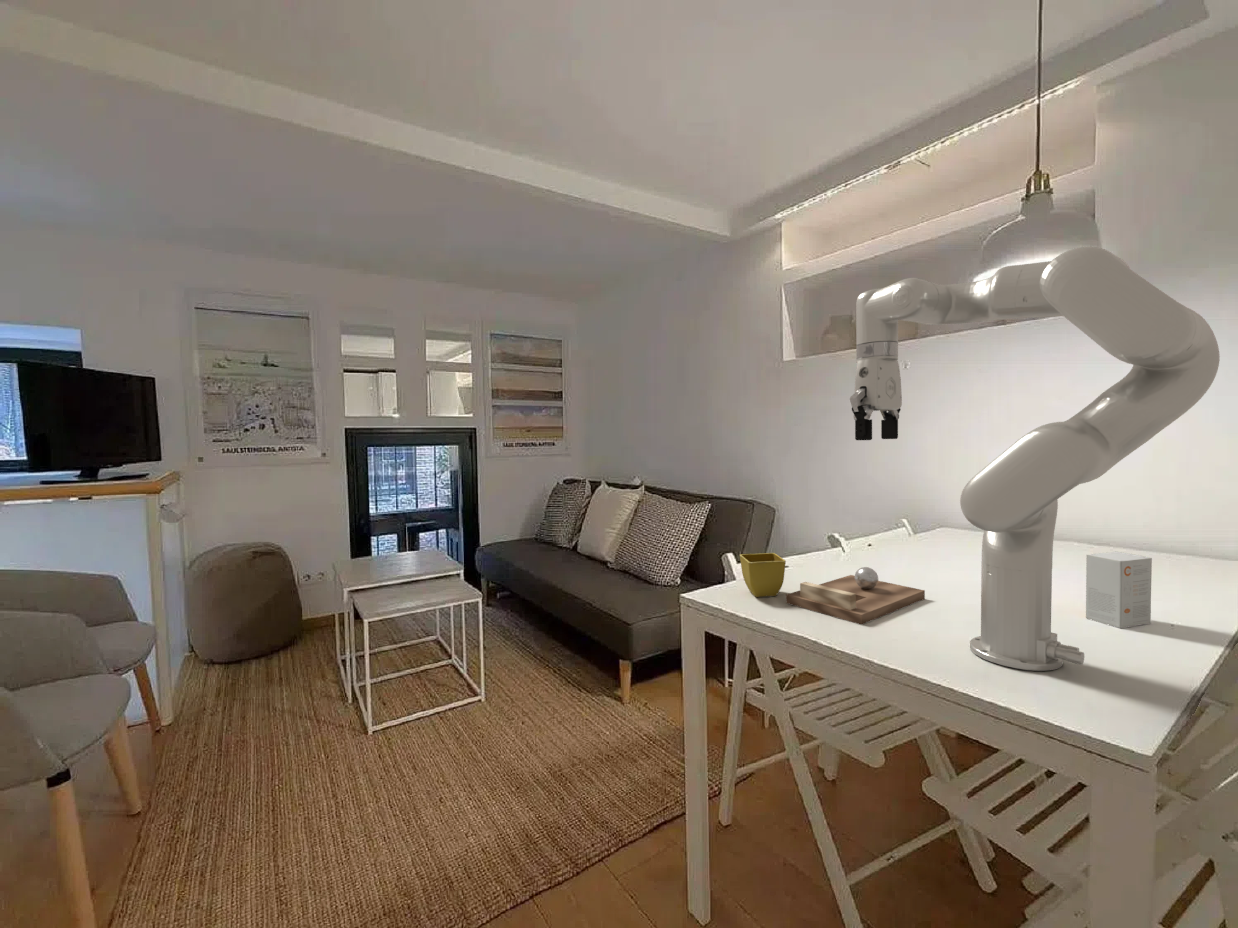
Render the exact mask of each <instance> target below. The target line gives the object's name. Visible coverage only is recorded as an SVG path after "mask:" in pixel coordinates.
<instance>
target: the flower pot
mask: <svg viewBox="0 0 1238 928" xmlns="http://www.w3.org/2000/svg"><path fill="white" fill-rule="evenodd" d="M739 559H740V567H741V573H742V578H743V581H744V583H745V584H746V587H747V589H748V590H749V592H750V593H751V594H752V595H753V596H754V597H756V598H761V597H776V596H778V594H779V592H780V591H781V589H782V587H783V584H784V579H785V571H786V562H787V561H786V560H785V559H784V558H782V557H781V556H779V555H778V554H776V553H775V552H767V553H765V552H763V553H742V554H739Z"/></svg>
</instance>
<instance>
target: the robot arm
mask: <svg viewBox="0 0 1238 928" xmlns="http://www.w3.org/2000/svg"><path fill="white" fill-rule="evenodd" d="M855 304H856V306H855V307H856V309H855V311H856V314H855V315H856V317H855V319H856V321H855V328H856V329H855V330H856V331H855V332H856V333H855V335H856V338H855V339H856V346H855V347H856V353H855V358H856V360H855V361H856V369H855V378H854V393H853V394H852V395H851V396H850V397H849V400H850V405H851V411H852V413H853V420H854V422H855V423H854V436H855V437H854V439H855V441H872V440H873V419H871V416H872V414H873V412H877V411H879V412H880V414H881V416H882V418H883V419H881V423H880V424H881V426H880V427H881V430H880V431H881V433H880V436H881V440H897V439H898V438H899V419H900V412H901V408H902V405H903V402H902V401H903V400H902V381H901V380H902V379H901V371H900V365H899V321H904V322H910V323H912V322H913V323H918V324H922V325H927V326H928V325H929V326H930V325H931V326H933V325H935V326H936V325H938V326H940V325H941V326H942V325H957V324H958V325H959V324H961V325H962V324H974V323H981V322H983V323H984V322H996V321H1004V320H1016V319H1017V320H1018V319H1019V320H1020V319H1033V318H1034V319H1038V318H1057V317H1064V318H1065V319H1067V321H1069V322H1070V323H1071V324H1073V326H1075V327H1076V328H1077V329H1079V330H1080V331H1081V332H1082V333H1084V334H1085V335H1086V336H1087V337H1088V338H1090V339H1091V340H1092V341H1093V342H1094V343H1096V345H1098V346H1099V347H1100V348H1102V349H1103V350H1104V351H1105V352H1107V353H1108V354H1109V355H1111V356H1112V357H1114V358H1115V359H1117V360H1119V361H1120V362H1124V363H1126V364H1130V365H1133V366H1132V368H1131V369H1130V371H1129V372H1128V373H1127V374H1126V375H1125V376H1124V377H1123V378H1122V379H1120V380H1119V381H1118V382H1116V383H1114V384H1113V385H1111V386H1110V387H1109V388H1107V389H1106V390H1104V392H1101V394H1099V395H1098V396H1097V397H1096V398H1095V399H1094V400H1093V401H1092V402H1090V403H1089V404H1088V405H1087V406H1085V407H1084V408H1082V409H1080V411H1078V412H1077V413H1075V414H1074V415H1073V416H1071V417H1070V418H1069V419H1067V420H1065V421H1055V422H1054V421H1053V422H1049V423H1046V424H1043V425H1041V426H1038V427H1036V428H1034V429H1032V430H1030V431H1029V432H1027V433H1025V434H1024V435H1023V436H1022V437H1021V438H1018V439H1017V440H1016V441H1015V442H1014V443H1013V444H1011V445H1010V446H1009V447H1008V448H1006V449H1005V450H1004V451H1003V452H1002V453H1000V454H999V455H998V456H997V457H996V458H994V459H993V460H991V462H990V463H988V464H987V465H986V466H984V468H982V469H980V470H979V472H977V473H976V474H975V475H974V476H973V477H972V478H970V480H968V481H967V483H966V484H965V486H964V487H963V489H962V491H961V495H960V500H959V501H960V502H959V503H960V509H961V511H962V514H963V517H964V518H966V520H967V521H968V522H969V523H970V524H971V525H973V527H976V528H978V529H980V530H983V535H982V542H981V543H982V544H981V570H980V571H981V572H980V573H981V576H980V577H981V578H980V579H981V581H980V582H981V583H980V585H981V587H980V588H981V589H980V590H981V591H980V636H975V637H973V638H972V639H970V640H969V641H970V642H969V648H970V651H972V652H973V653H974V654H975V655H976V656H978V657H979V658H980V659H983V660H986V661H987V662H991V663H994V664H997V665H1000V666H1004V667H1007V668H1008V667H1009V668H1013V669H1018V670H1024V671H1035V672H1037V671H1039V672H1044V671H1053V670H1057V669H1059V668H1061V667H1062V666H1063V663H1064V661H1067V662H1068V663H1073V664H1077V665H1084V663H1085V662H1084V661H1085V653H1084V652H1082V651H1080V648H1079V647H1076V646H1073V645H1069V644H1068V645H1066V644H1062V643H1061V642H1060V641H1058V633H1056V632H1052V594H1053V593H1052V591H1053V589H1052V585H1053V580H1052V579H1053V553H1054V552H1053V551H1054V538H1055V530H1056V529H1055V528H1056V524H1057V523H1056V522H1057V517H1058V508H1059V507H1058V506H1059V505H1058V503H1059V500H1058V499H1060V498H1061V497H1063V496H1064V495H1066V494H1067V493H1068V492H1070V491H1071V490H1073V489H1075V488H1076V487H1077V486H1079V485H1081V484H1086V483H1089V482H1091V481H1092V482H1093V481H1094V480H1096V479H1099V478H1101V477H1102V476H1103V475H1104V474H1106V473H1107V472H1108V471H1109V470H1111V469H1112V468H1113V467H1114V466H1116V465H1117V464H1118V463H1120V462H1121V461H1122V460H1124V459H1125V458H1127V456H1129V455H1130V454H1132V453H1133V452H1134V451H1136V450H1138V449H1139V448H1141V446H1144V444H1146V443H1147V442H1149V441H1150V440H1151V439H1153V438H1154V437H1155V436H1156V435H1157V434H1158V433H1160V432H1162V431H1163V430H1164V429H1166V428H1167V427H1168V426H1170V425H1171V424H1172V423H1174V422H1176V420H1178V419H1179V418H1180V417H1182V416H1183V415H1184V414H1186V413H1187V412H1188V411H1190V409H1191V408H1193V407H1194V406H1195V405H1196V404H1197V403H1198V402H1199V401H1200V400H1202V398H1203V397H1204V395H1205V394H1206V393H1207V392H1208V390H1209V389H1210V387H1211V386H1212V384H1213V383H1214V381H1215V378H1216V376H1217V373H1218V370H1219V366H1220V357H1221V356H1220V349H1219V345H1218V341H1217V338H1216V336H1215V333H1214V331H1213V330H1212V329H1213V328H1212V327H1211V326H1210V324H1209V323H1208V321H1207V320H1206V319H1205V318H1204V317H1203V316H1201V314H1199V313H1198V312H1197V311H1195V310H1193V309H1191V308H1189V307H1187V306H1185V305H1184V304H1181V303H1180V302H1179V301H1177V300H1176V299H1174V298H1172V297H1171V296H1170V295H1169V294H1167V293H1165V292H1163V290H1161V289H1160V288H1158V287H1157V286H1155V285H1153V283H1150V282H1149V281H1147V280H1146V279H1145V278H1144V277H1142V276H1141V275H1139V274H1137V272H1135V271H1133V270H1132V269H1131V268H1130V266H1129V265H1128V263H1127V262H1125V261H1124V259H1122V258H1121V257H1119V256H1118V255H1116V254H1114V253H1113V252H1111V251H1109V250H1107V249H1105V248H1102V247H1100V246H1099V247H1098V246H1091V245H1090V246H1081V247H1076V248H1075V247H1074V248H1072V249H1068V250H1066V251H1064V252H1062V253H1060V254H1059V255H1057V256H1055V257H1054V258H1053V259H1052V260H1051V261H1050V260H1049V261H1041V262H1033V263H1024V264H1017V265H1016V264H1015V265H1006V266H1003V267H1000V268H999V269H998V270H997V271H995V273H993V275H992V276H990V277H988V278H986V279H982V280H977V281H971V282H963V283H951V284H940V283H937V282H933V281H929V280H926V279H921V278H918V277H909V278H904V279H901V280H898V281H897V282H894V283H892V284H890V285H887V286H885V287H882V288H872V289H869V290H866V291H863V292H861V293H860V294H859V295H858V296H857V299H856V302H855Z"/></svg>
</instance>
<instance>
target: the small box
mask: <svg viewBox="0 0 1238 928" xmlns="http://www.w3.org/2000/svg"><path fill="white" fill-rule="evenodd" d="M1152 561H1153V558H1152V557H1149V556H1143V555H1139V554H1132V553H1127V552H1122V551H1109V552H1108V551H1107V552H1100V553H1099V552H1098V553H1090V554H1086V567H1085V568H1086V569H1085V570H1086V571H1085V573H1086V575H1085V577H1086V578H1085V579H1086V580H1085V581H1086V583H1085V584H1086V585H1085V587H1086V588H1085V589H1086V590H1085V618H1086V620H1087V619H1088V620H1090V619H1092V620H1091V621H1093V620H1094V622H1097V621H1098V623H1100V622H1101V624H1104V625H1107V624H1109V625H1108V626H1110V625H1112V626H1111V627H1114V626H1115V627H1114V628H1117V627H1118V629H1125V628H1131V627H1137V626H1143V625H1150V624H1152V622H1151V620H1152V619H1151V618H1152V615H1151V613H1152V570H1153V569H1152V568H1153V567H1152V566H1153V565H1152V563H1153V562H1152Z"/></svg>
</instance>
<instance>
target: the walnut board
mask: <svg viewBox="0 0 1238 928" xmlns="http://www.w3.org/2000/svg"><path fill="white" fill-rule="evenodd" d="M799 586H800V587H799V590H797V591H793V592H789V593H788V594H787V593H786V594H785V597H786V598H785V599H786V600H785V603H786V604H789V605H791V606H795V607H798V608H802V609H805V610H808V611H813V612H816V613H819V614H823V615H826V616H830V617H833V618H837V619H839V620H844V621H847V622H850V623H854V624H857V625H865V624H867V623H870V622H872V621H875V620H876V619H879V618H881V617H884V616H887V615H889V614H892V613H894V612H896V611H899V610H901V609H904V608H907V607H909V606H911V605H913V604H916V603H918V602H921V601H923V600H925V598H926V593H925V592H926V590H925V589H920V588H914V587H911V586H905V585H900V584H896V583H890V582H886V581H881V580H878V583H877V585H876V586H875V587H874V588H872V589H863V588H861V587H860V586H858V585H857V583H856V581H855V574H849V575H846V576H843V577H840V578H835V579H833V580H830V581H827V582H823V583H820V584H816V583H813V582H808V581H804V582H800V584H799Z"/></svg>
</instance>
